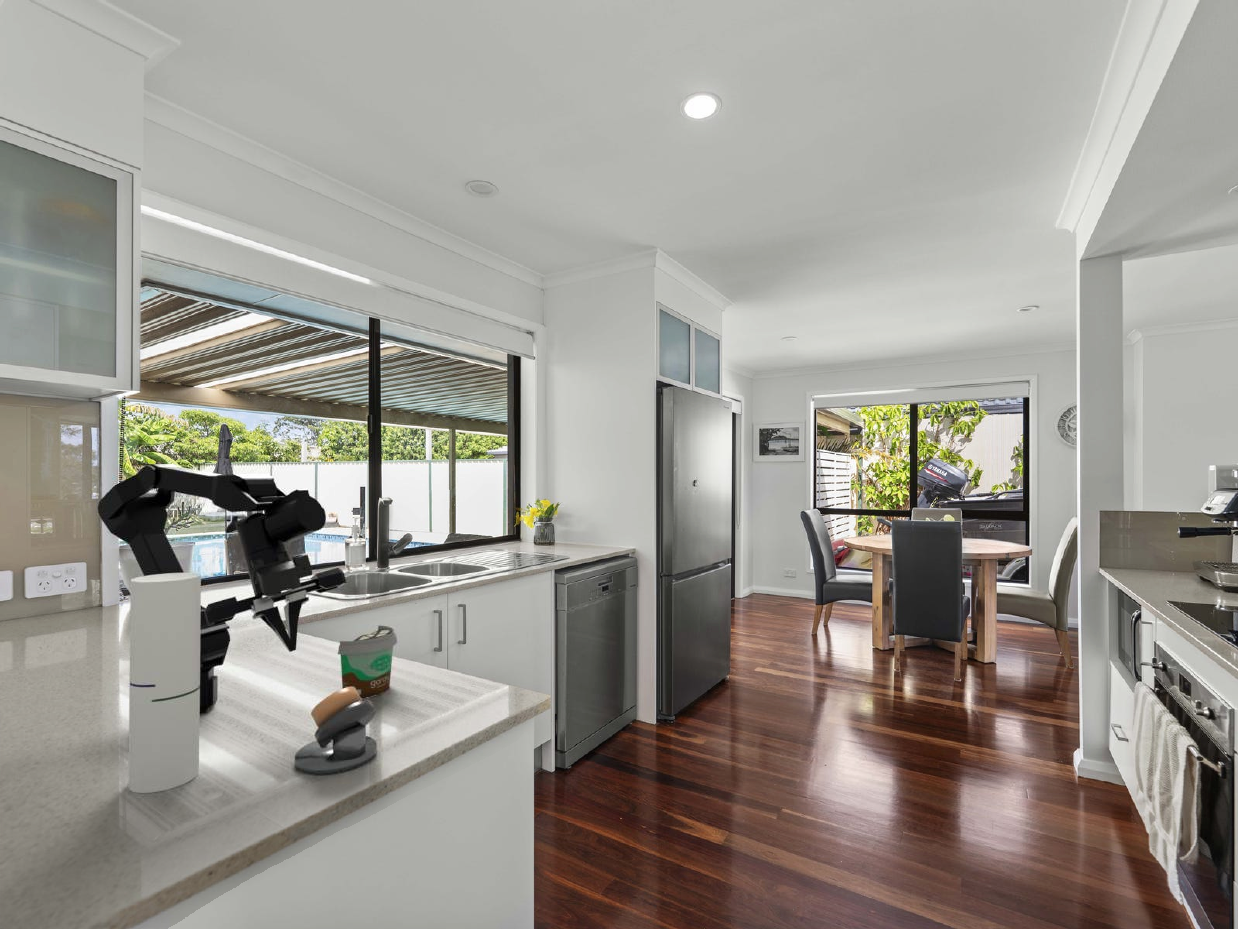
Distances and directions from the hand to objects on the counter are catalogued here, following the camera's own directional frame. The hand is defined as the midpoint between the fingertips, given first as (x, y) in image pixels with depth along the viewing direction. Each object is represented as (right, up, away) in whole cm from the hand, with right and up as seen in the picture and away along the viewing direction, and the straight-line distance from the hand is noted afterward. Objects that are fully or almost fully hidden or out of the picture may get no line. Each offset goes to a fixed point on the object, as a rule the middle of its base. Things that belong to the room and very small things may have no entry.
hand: (292, 651), depth 96 cm
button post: (+11, -11, -11) cm, 19 cm away
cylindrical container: (-7, -11, -17) cm, 21 cm away
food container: (+7, -12, +15) cm, 20 cm away
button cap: (+11, -7, -11) cm, 17 cm away
